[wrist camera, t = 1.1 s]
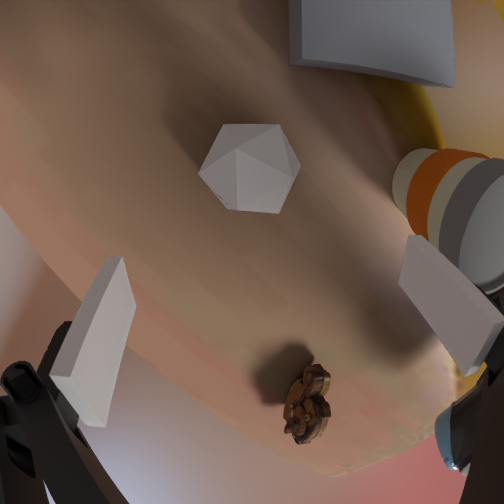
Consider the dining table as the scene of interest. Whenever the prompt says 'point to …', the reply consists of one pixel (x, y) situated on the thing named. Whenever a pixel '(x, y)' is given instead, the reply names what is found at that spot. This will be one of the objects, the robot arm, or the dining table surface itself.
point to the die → (251, 167)
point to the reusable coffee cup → (456, 209)
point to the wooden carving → (308, 405)
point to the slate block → (375, 38)
